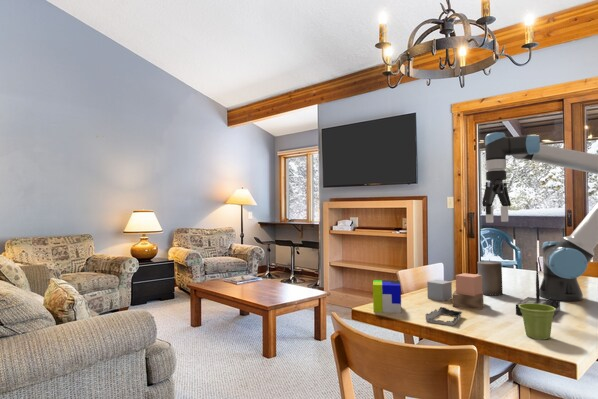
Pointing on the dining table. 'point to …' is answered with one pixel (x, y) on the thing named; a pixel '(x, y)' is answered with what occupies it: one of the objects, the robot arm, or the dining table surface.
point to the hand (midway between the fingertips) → (497, 222)
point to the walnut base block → (468, 301)
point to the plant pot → (537, 320)
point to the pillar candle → (491, 277)
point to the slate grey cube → (439, 290)
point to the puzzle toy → (386, 296)
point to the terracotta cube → (469, 284)
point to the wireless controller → (538, 298)
